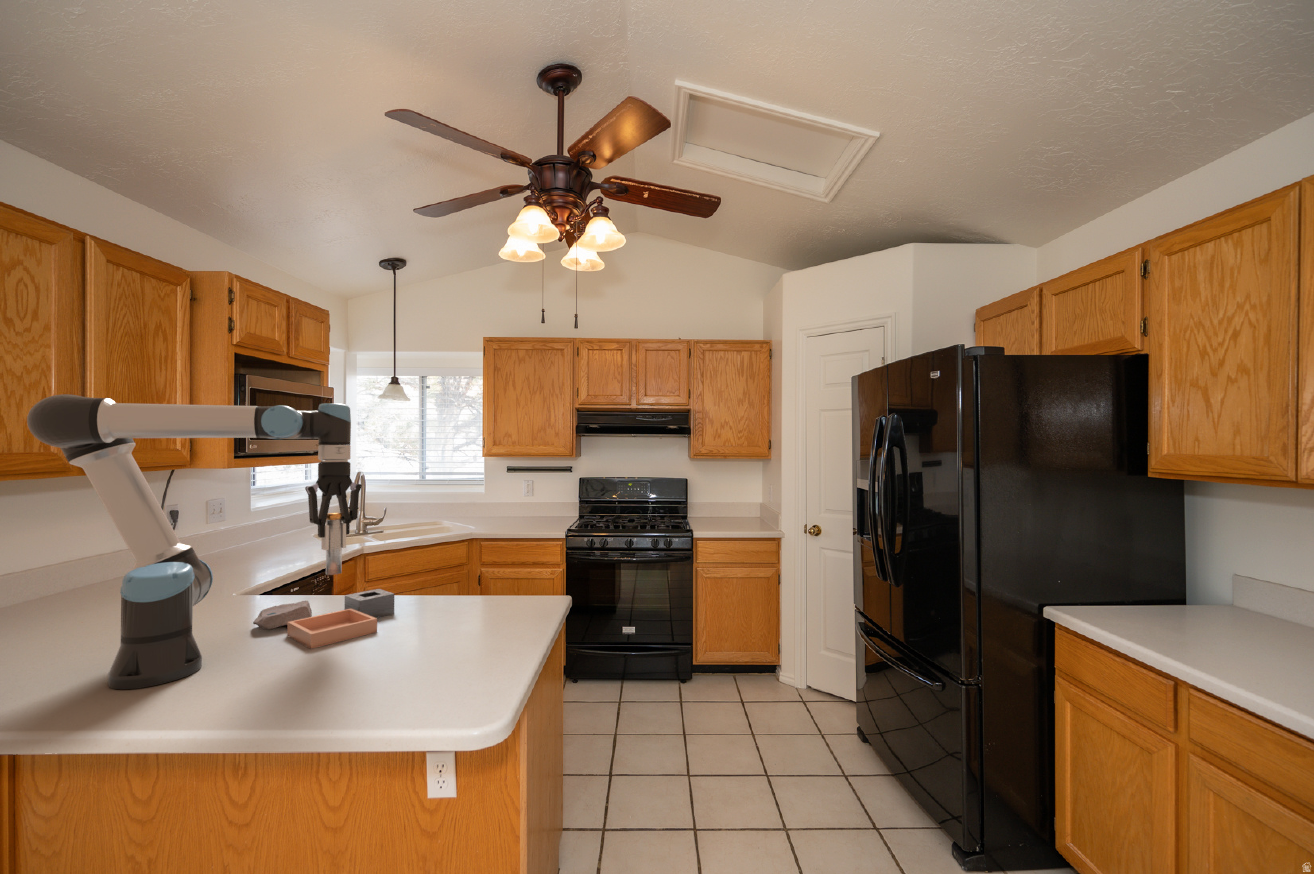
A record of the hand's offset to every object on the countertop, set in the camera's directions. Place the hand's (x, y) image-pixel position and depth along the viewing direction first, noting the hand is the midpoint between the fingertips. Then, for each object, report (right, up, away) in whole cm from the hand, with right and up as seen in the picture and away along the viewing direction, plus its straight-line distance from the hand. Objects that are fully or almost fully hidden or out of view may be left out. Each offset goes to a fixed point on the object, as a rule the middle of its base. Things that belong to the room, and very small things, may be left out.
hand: (333, 548), depth 147 cm
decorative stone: (-18, -23, +6) cm, 30 cm away
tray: (0, -23, -1) cm, 23 cm away
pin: (0, -7, 0) cm, 7 cm away
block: (+1, -23, +17) cm, 29 cm away
